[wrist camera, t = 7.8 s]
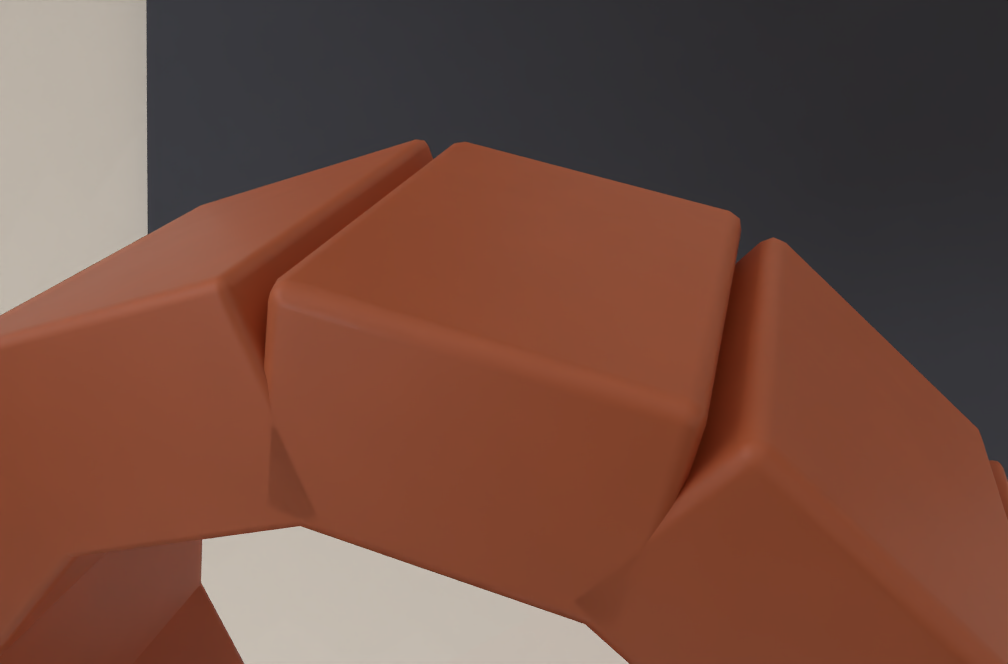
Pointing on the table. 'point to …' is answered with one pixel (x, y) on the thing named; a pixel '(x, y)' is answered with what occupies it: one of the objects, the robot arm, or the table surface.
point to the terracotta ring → (490, 425)
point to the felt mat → (647, 129)
